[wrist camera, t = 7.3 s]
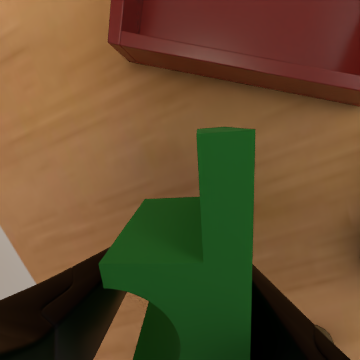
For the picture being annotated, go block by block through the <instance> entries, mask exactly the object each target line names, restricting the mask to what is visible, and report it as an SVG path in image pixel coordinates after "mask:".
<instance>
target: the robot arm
mask: <svg viewBox="0 0 360 360" xmlns="http://www.w3.org/2000/svg"><path fill="white" fill-rule="evenodd" d="M109 248H110V247H109ZM109 248H107V249H105V250H103V251H101V252H100V253H98V254H96V255H94V256H92V257H90V258H88V259H86V260H84V261H82V262H81V263H79V264H77V265H75V266H73V267H72V268H69V269H67V270H65V271H63V272H61V273H59V274H57V275H55V276H53V277H51V278H49V279H47V280H45V281H43V282H41V283H39V284H36V285H34V286H32V287H30V288H28V289H25V290H23V291H21V292H18V293H16V294H14V295H12V296H9V297H7V298H4V299H2V300H0V360H93V359H94V357H95V355H96V353H97V351H98V349H99V347H100V345H101V343H102V341H103V339H104V337H105V335H106V333H107V331H108V329H109V327H110V325H111V323H112V321H113V319H114V317H115V315H116V313H117V311H118V309H119V307H120V305H121V303H122V301H123V299H124V297H125V295H126V293H127V292H126V291H122V290H117V289H108V288H104V287H103V282H102V278H101V273H100V269H99V262H100V261H101V260H102V258H103V257H104V255H105V254H106V253H107V251H108V250H109ZM250 360H350V359H349V358H348V357H347V356H346V355H345V354H344V353H343V352H342V351H341V350H340V349H339V348H338V347H337V346H335V345H334V344H333V343H332V342H331V341H330V340H329V339H328V338H327V337H326V336H325V335H324V334H323V333H322V332H321V331H320V330H319V329H318V328H317V327H316V328H315V325H314V324H313V323H312V322H311V321H310V320H309V319H308V318H307V317H306V316H305V315H304V314H303V313H302V312H301V311H300V310H299V309H298V308H297V307H296V306H295V305H294V304H293V303H292V302H291V301H290V300H289V299H288V298H287V297H285V296H284V295H283V294H282V293H281V292H280V291H279V290H278V289H277V288H276V287H275V286H274V285H273V284H272V283H271V282H270V281H269V280H268V279H267V278H266V277H265V276H264V275H263V274H262V273H261V272H260V271H259V270H258V269H257V268H256V267H255V266H254V265H253V264H252V302H251V346H250Z"/></svg>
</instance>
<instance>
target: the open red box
mask: <svg viewBox="0 0 360 360" xmlns="http://www.w3.org/2000/svg"><path fill="white" fill-rule="evenodd" d="M108 43H109V44H110V45H111V46H112V47H113V48H114V49H116V50H117V51H118V52H119V53H120V54H121V55H122V56H123V57H125V58H126V59H127V60H128V61H129V62H134V63H139V64H144V65H149V66H154V67H159V68H165V69H170V70H175V71H180V72H185V73H190V74H195V75H201V76H206V77H211V78H216V79H221V80H226V81H231V82H237V83H242V84H247V85H252V86H257V87H262V88H268V89H273V90H278V91H283V92H288V93H293V94H298V95H304V96H309V97H314V98H319V99H324V100H329V101H335V102H340V103H345V104H350V105H355V106H360V0H111V7H110V20H109V33H108Z"/></svg>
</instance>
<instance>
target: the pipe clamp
mask: <svg viewBox="0 0 360 360" xmlns="http://www.w3.org/2000/svg"><path fill="white" fill-rule="evenodd" d="M197 153H198V171H199V190H200V197H184V198H160V199H145V200H144V201H143V202H142V204H141V205H140V207H139V208H138V209H137V211H136V212H135V214H134V215H133V216H132V218H131V219H130V221H129V222H128V223H127V225H126V226H125V228H124V229H123V230H122V232H121V233H120V234H119V236H118V237H117V239H116V240H115V241H114V243H113V244H112V246H111V247H110V248H109V250H108V251H107V253H106V254H105V255H104V257H103V258H102V260H101V261H100V262H99V269H100V273H101V278H102V282H103V287H104V288H108V289H117V290H122V291H126V292H129V293H132V294H135V295H138V296H140V297H142V298H144V299H146V300H148V301H149V303H148V307H147V311H146V314H145V318H144V321H143V325H142V329H141V332H140V336H139V339H138V343H137V346H136V350H135V354H134V357H133V360H250V346H251V302H252V257H253V212H254V168H255V129H244V128H232V127H217V128H204V129H197Z"/></svg>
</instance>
